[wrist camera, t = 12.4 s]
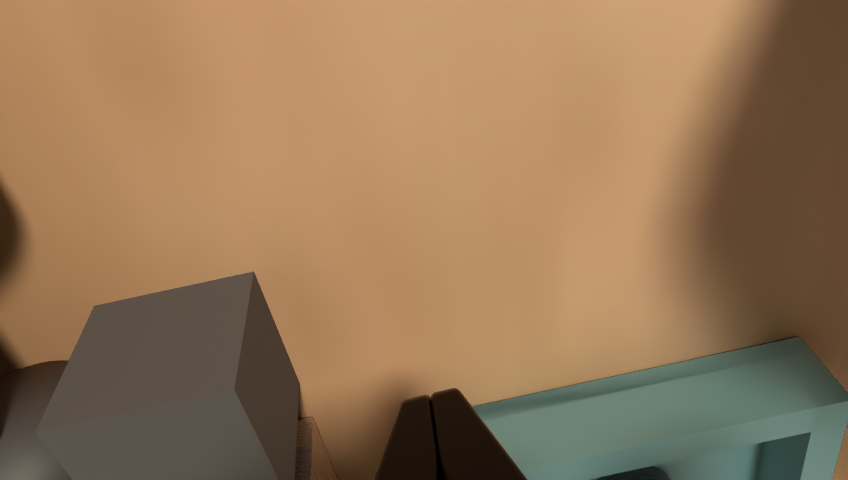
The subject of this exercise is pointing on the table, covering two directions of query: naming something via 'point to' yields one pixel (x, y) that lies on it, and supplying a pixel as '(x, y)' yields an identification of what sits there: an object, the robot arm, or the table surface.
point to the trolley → (28, 423)
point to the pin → (639, 474)
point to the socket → (311, 454)
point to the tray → (684, 420)
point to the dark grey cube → (178, 390)
